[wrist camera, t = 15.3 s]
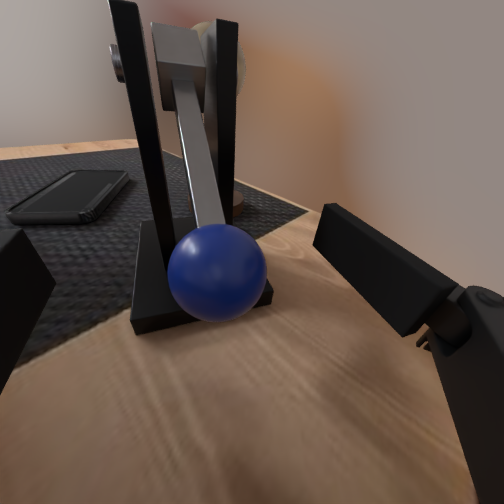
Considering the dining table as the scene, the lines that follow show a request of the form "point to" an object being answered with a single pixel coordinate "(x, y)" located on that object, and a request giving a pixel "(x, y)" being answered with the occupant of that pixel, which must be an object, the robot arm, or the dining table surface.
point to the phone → (70, 198)
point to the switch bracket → (145, 121)
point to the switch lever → (203, 195)
